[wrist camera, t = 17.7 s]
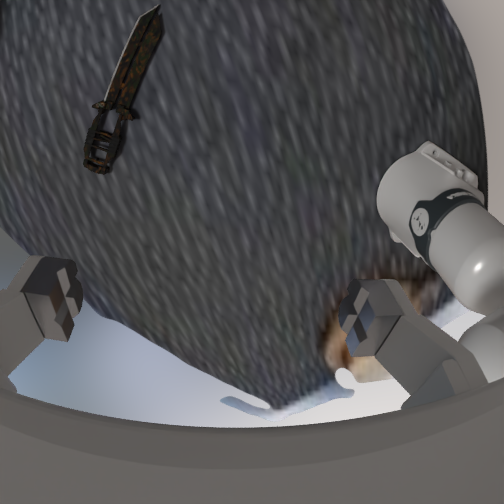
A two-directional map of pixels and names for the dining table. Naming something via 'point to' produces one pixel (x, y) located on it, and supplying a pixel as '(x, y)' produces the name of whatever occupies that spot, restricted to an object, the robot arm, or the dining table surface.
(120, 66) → the knife
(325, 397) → the dining table surface
